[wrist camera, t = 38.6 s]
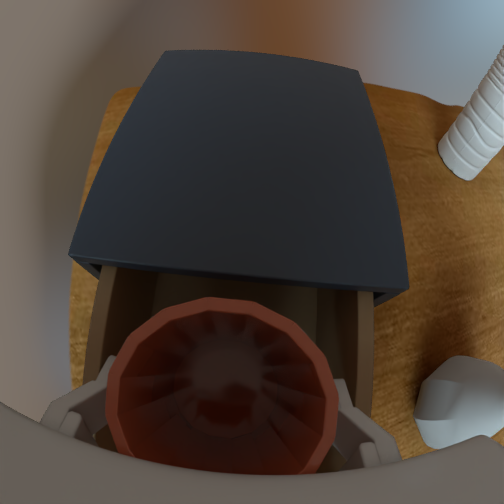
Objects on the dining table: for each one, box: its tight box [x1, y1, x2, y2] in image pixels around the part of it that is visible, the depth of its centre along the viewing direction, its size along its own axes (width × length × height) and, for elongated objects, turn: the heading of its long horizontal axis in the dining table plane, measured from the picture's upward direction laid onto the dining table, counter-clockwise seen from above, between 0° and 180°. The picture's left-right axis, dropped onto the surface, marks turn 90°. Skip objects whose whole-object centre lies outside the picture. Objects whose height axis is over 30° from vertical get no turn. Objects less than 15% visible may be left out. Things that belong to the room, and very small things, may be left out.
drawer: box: [83, 265, 374, 474], centre depth 12 cm, size 20×13×8 cm, turn 176°
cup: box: [105, 297, 339, 475], centre depth 11 cm, size 6×6×9 cm
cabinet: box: [68, 50, 409, 307], centre depth 18 cm, size 17×15×10 cm
